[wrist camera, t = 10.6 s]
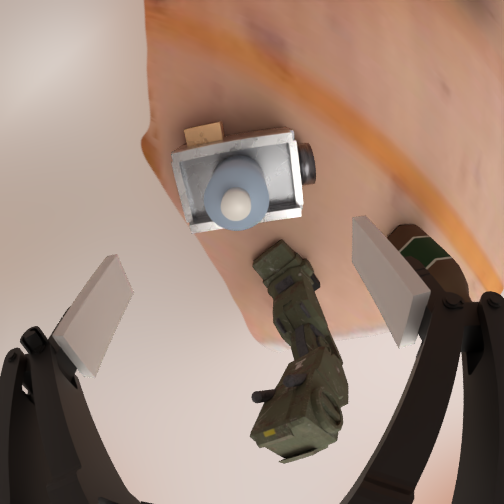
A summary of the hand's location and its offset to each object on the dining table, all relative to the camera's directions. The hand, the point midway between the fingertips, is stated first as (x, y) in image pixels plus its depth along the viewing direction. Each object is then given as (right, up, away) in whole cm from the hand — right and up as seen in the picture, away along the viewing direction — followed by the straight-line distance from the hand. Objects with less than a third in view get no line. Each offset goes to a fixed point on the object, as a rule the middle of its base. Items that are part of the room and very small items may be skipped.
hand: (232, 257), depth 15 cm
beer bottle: (+26, +2, +26) cm, 36 cm away
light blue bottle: (0, +8, +15) cm, 17 cm away
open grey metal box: (0, +12, +19) cm, 23 cm away
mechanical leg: (+6, -2, +27) cm, 28 cm away
